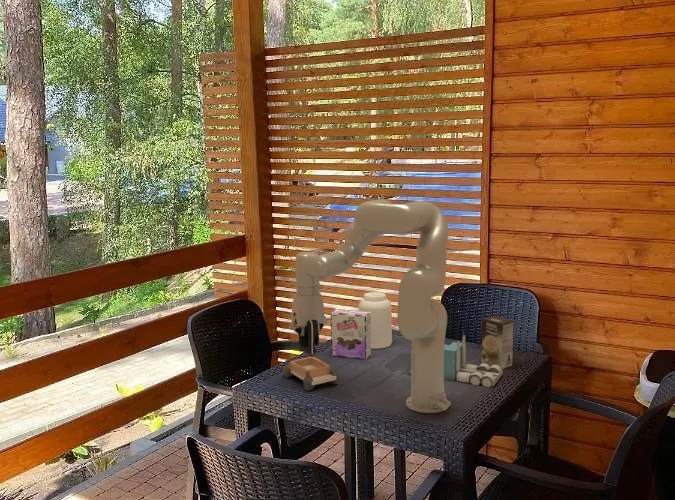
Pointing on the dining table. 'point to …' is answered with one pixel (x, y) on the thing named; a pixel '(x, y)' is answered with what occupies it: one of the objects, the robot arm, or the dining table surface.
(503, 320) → the coffee box
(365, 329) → the candy box
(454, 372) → the truck
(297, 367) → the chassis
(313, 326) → the battery charger
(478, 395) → the dining table surface
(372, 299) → the white jar
